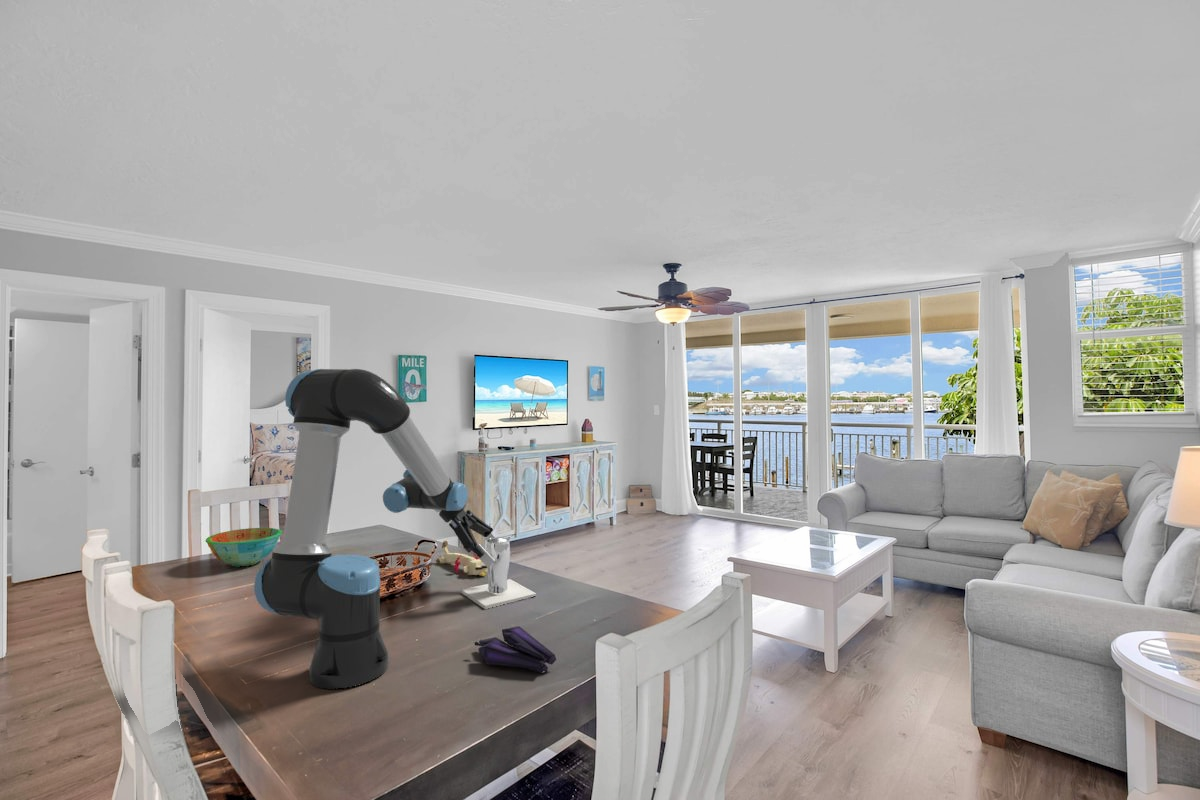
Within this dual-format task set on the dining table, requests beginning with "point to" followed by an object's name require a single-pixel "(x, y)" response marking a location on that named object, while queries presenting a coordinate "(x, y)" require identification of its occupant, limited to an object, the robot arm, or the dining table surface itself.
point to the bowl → (244, 545)
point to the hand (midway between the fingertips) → (497, 557)
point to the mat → (489, 601)
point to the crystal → (516, 650)
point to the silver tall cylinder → (498, 565)
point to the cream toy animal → (462, 562)
